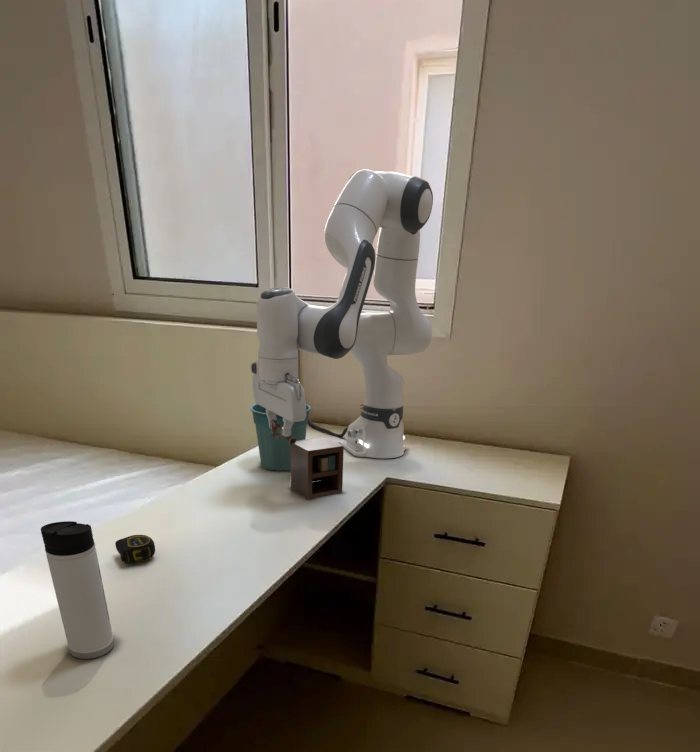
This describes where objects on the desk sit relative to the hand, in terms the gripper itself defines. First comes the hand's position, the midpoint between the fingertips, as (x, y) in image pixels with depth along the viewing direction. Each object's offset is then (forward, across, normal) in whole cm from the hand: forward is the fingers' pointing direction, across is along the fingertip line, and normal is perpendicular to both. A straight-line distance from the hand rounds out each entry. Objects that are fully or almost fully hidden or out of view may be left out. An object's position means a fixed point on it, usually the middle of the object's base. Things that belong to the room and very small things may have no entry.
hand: (279, 432), depth 142 cm
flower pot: (+16, +22, -11) cm, 30 cm away
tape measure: (+15, -19, +41) cm, 48 cm away
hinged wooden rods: (+2, -1, 0) cm, 2 cm away
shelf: (+16, -1, -10) cm, 19 cm away
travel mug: (+15, -46, +55) cm, 73 cm away
